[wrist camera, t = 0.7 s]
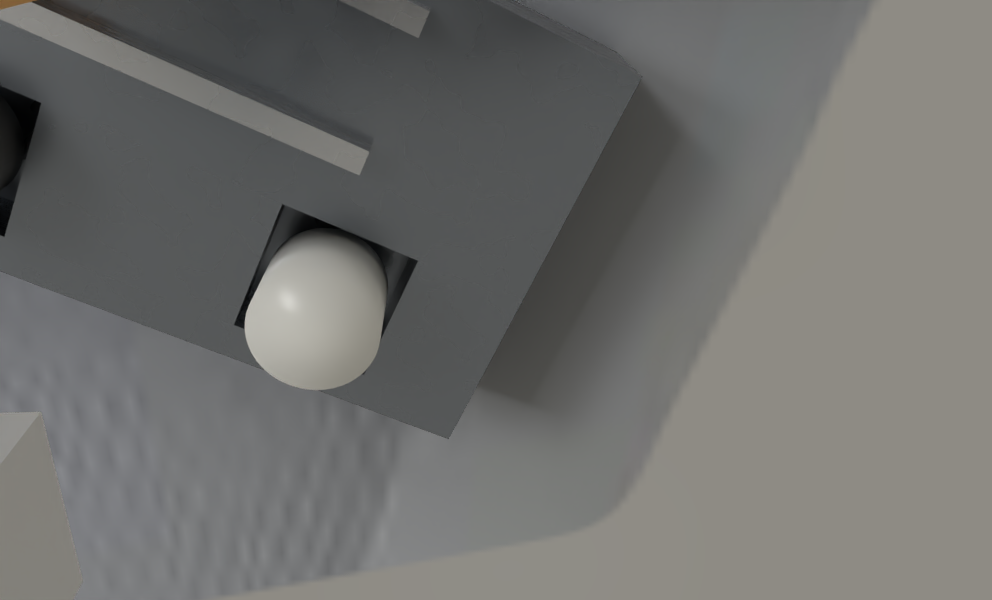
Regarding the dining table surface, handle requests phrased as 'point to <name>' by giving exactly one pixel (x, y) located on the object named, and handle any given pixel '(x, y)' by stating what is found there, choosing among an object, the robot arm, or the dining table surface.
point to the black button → (9, 144)
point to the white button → (318, 310)
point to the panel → (304, 164)
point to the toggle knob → (12, 3)
